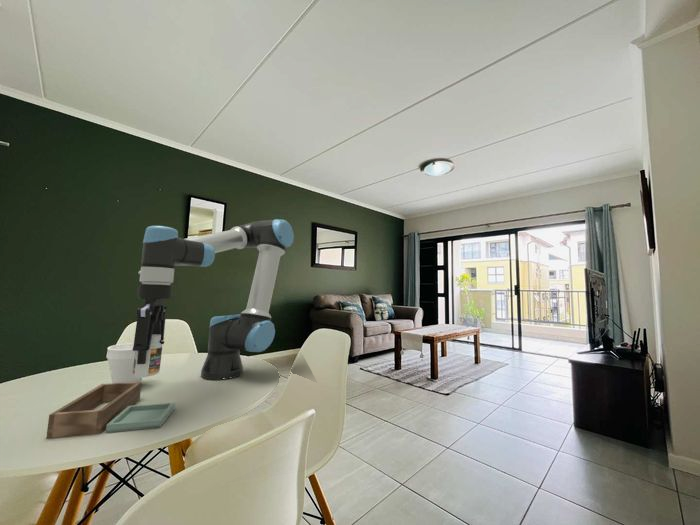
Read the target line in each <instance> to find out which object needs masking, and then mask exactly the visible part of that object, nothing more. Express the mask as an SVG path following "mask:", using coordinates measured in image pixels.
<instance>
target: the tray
mask: <svg viewBox="0 0 700 525" xmlns="http://www.w3.org/2000/svg"><path fill="white" fill-rule="evenodd" d="M175 404H176V402H163V403H162V402H161V403H148V404H133V405H132V406H128V407H127V408H126V409H124V410H123V411H122V412H121V413H120V414H119V415H117V416H116V417H115V418H114V419H113V420H112V421H111V422H109V423H108V424H107V426H106V429H105V433H106V434H107V433H110V434H111V433H120V432H129V431H139V430H140V431H141V430H150V429H160V428H162V426H163V425H162V424H164V423H165V422H166V421H167V420H168V418H169V417H170V415H171V414H172V413H173V412H174V410H175ZM171 412H172V413H171ZM168 416H169V417H168ZM165 420H166V421H165ZM161 425H162V426H161Z"/></svg>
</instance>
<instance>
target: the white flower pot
mask: <svg viewBox="0 0 700 525" xmlns="http://www.w3.org/2000/svg"><path fill="white" fill-rule="evenodd" d="M133 346H134V342H126V343H119V344H114V345H110V346H108V347H107V348H106V349H107V352H106V357H105V358H106V359H107V362H108V366H109V372H110V377H111V383H128V382H141V383H142V379H143V377H138V378H134V376H133V365H134V357H135V351H133Z"/></svg>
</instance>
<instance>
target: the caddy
mask: <svg viewBox="0 0 700 525" xmlns="http://www.w3.org/2000/svg"><path fill="white" fill-rule="evenodd" d="M141 390H142V381H141V382H128V383H112V382H111V383H101V384H99V385H98V386H96V387H95V388H92V389H90V390H89V391H87V392H86V393H84V394H82V395H81V396H78V397H77V398H75V399H73V400H72V401H70V402H68V403H66V405H64V406H62V407H61V408H59V409H57V410H55V411H53V412H52V413H50V414H49V415H48V421H47V422H48V423H47V429H46V430H47V431H46V438H45V439H55V438H66V437H76V436H88V435H97V434H102V433H103V432H104V431H106V426H107V424H108V423H109V422H111V421H112V420H113V419H114V418H115V417H116V416H117V415H119V414H120V413H121V412H122V411H123V410H124V409H126V408H127V407H128V406H132V405H136V403H137V402H138V401H139V400H140V399H141ZM103 403H107V404H106V405H105V406H103V407H101V408H100V409H96V408H97V407H98V406H99V405H102V404H103Z"/></svg>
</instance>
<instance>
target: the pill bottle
mask: <svg viewBox="0 0 700 525" xmlns="http://www.w3.org/2000/svg"><path fill="white" fill-rule="evenodd" d="M160 340H161V335H159V334H152V338H151V343H150V348H149V350H151V354H150V363H149V372H148V377H152V376H155V375H158V374H159V373H160V370H161V369H160V368H161V361H162V352H163V344H161V343H159V341H160ZM136 357H137V351H135V357H134V365H133V376H134V374H135V366H136Z"/></svg>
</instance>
